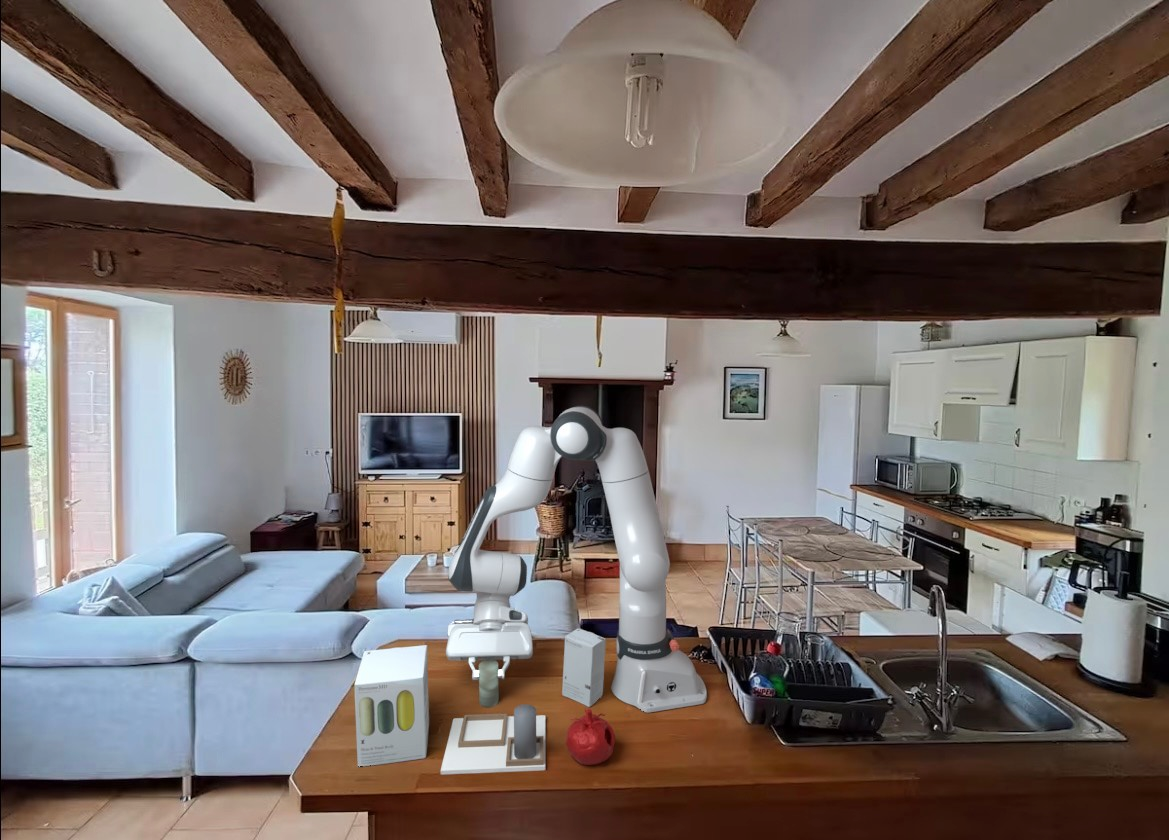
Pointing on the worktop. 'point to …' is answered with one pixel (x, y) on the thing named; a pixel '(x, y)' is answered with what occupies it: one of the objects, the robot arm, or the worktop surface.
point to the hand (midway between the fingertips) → (488, 679)
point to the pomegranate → (590, 739)
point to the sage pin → (488, 683)
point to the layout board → (496, 743)
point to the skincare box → (583, 667)
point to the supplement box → (392, 705)
